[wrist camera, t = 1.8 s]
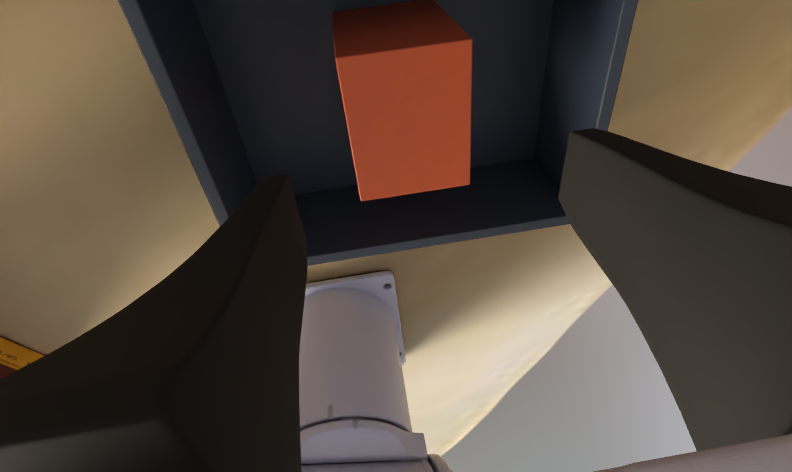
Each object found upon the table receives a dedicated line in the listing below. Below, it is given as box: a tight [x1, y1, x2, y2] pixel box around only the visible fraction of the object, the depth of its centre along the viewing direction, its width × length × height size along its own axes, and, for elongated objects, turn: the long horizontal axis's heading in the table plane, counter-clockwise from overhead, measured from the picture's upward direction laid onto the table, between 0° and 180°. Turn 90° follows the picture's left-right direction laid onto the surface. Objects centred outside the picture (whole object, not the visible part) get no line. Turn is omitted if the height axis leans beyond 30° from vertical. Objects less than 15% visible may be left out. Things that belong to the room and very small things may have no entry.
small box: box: [332, 0, 472, 201], centre depth 16 cm, size 5×4×6 cm
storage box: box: [118, 0, 638, 266], centre depth 17 cm, size 15×12×6 cm
